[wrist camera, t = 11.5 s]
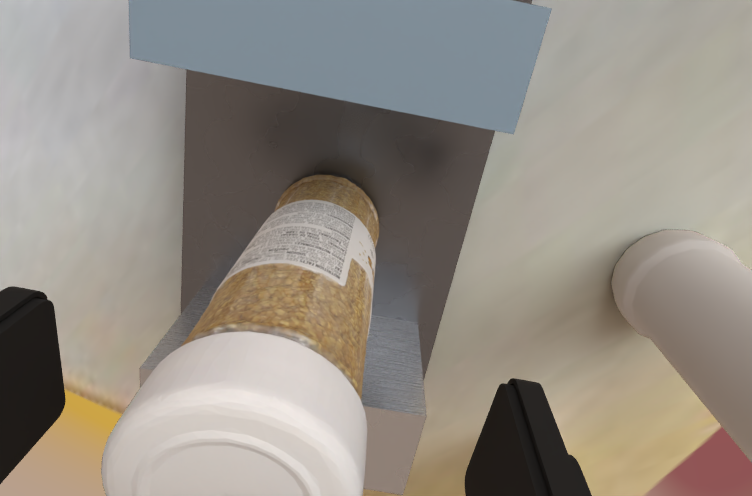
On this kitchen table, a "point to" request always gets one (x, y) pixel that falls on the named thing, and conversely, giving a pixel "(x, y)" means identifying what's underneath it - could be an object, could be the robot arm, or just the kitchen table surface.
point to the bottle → (695, 318)
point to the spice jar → (265, 366)
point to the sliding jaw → (358, 50)
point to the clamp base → (390, 198)
